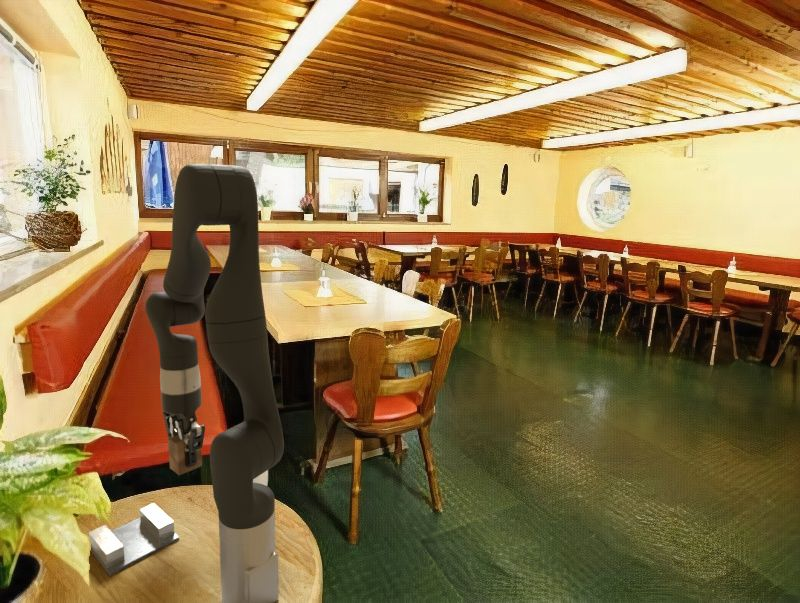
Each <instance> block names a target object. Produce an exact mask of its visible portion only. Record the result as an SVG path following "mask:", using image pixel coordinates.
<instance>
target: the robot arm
mask: <svg viewBox="0 0 800 603" xmlns="http://www.w3.org/2000/svg"><path fill="white" fill-rule="evenodd" d="M174 187H175V188H174V194H173V195H174V196H173V211H172V212H173V213H172V223H171V224H172V225H171V226H172V227H171V248H170V249H171V250H170V257H169V259H168V260H169V261H168V262H167V263H168V264H167V268H166V271H165V274H164V278H163V282H162V284H163V285H162V286H163V290H164V291H156V292H153V293H151V294H149V296H148V297H147V299H146V302H145V312H146V313H145V314H146V316H147V318H148V321H149V322H150V325H151V328H152V330H153V333H154V335H155V338H156V341H157V344H158V351H159V367H160V369H159V370H160V371H159V372H160V374H159V383H160V384H159V385H160V398H161V409H162V416H163V421H164V424H165V429H166V433H167V438H169V437H172V436H176V435H178V434H179V439H180V441H182V442H183V445H184V453H185V466H186V467H188V468H189V467H191V466H194V465H196V464H197V455H196V450H198V449H200V448H201V449H202V448H203V446H204V445H203V444H204V438H205V432H206V427H205V425H204V424H201V425H199V424H198V419H197V418H198V417H197V413H196V411H197V410H198V409H199V408H200V407H201V406H202V403H203V400H202V381H201V380H202V378H201V370H200V365H199V354H198V349H199V348H198V341H197V339H196V338H195V336H193V335H189V334H180V333H179V334H178V333H177V334H176V333H172V331H171V330H170V329H171V328H170V327H175V326H176V327H177V326H185V325H191V324H195V323H198V322H199V321H201V320H202V318H203V317H204V316H205V317H204V319H205V327H206V333H207V334H206V335H207V336H206V337H207V342H208V348H209V351H210V354H211V356H212V358H213V359H214V361H215V362H216V364H218V367H220V368H221V370H222V371H223V372H224V374H226V375H227V376H228V378H229V379H230V380H231V381H232V382H233V383H234V385H235V387H236V388H237V390H238V392H239V395H240V398H241V403H242V411H243V421H242V422H241V423H238V424H237V425H234V426H232V427H230V428H228V429H226V430H224V431H222V432H220V433H219V434H217V435H216V436H215V437H214V438H213V440H212V441H211V444H210V448H209V462H210V463H209V464H210V465H209V466H210V473H211V474H210V475H211V482H212V483H211V484H212V494H213V499H214V500H213V501H214V502H215V505H216V508H217V513H218V530H219V531H218V532H219V533H218V534H219V535H218V536H219V561H220V564H219V565H220V585H221V590H220V591H221V603H276V602H277V601H278V600H279V597H280V596H279V554H278V553H277V552H276V516H275V515H276V511H275V510H276V508H275V507H276V503H275V502H276V500H275V493H274V492H273V490H272V489H271V488H270V487H269V486H268V485H267V486H266V485H263V484H259V483H253V479H255V478H256V477H258V476H259V475H261V474H262V473H264V472H266V471H267V470H268V471H269V470H270V469H272V468H273V467H274V466H276V465H277V464H278V463H279V462H280V461H281V459H282V457H283V455H284V450H285V440H284V434H283V433H284V432H283V428H282V422H281V418H280V413H279V408H278V403H277V400H276V395H275V389H274V383H273V376H272V368H271V361H270V353H269V352H270V351H269V339H268V326H267V319H266V317H267V315H266V310H265V304H264V303H265V302H264V295H263V288H262V287H263V286H262V279H261V278H262V275H261V267H260V247H259V246H260V244H259V243H260V241H259V240H260V239H259V236H260V235H259V232H260V231H259V201H258V200H259V199H258V192H257V187H256V183H255V179H254V177H253V175H252V173H251V172H250V170H249V169H248V168H246V167H244V166H241V165H233V164H231V165H230V164H212V163H211V164H210V163H188V164H186V165H185V166H183V167H182V168H181V169H180V171H179V172H178V175H177V178H176V182H175V186H174ZM201 226H229V248H228V249H229V250H228V254H227V258H226V261H225V264H224V265H223V267H222V270H221V272H220V274H219V277H218V278H217V280H216V282H215V284H214V286H213V288H212V290H211V292H210V294H209V297H208V299H207V301H206V304H205V300H204V299H205V298H204V292H205V291H204V290H205V287H206V285H207V282H208V279H209V277H210V274H211V268H212V261H211V258H210V254H209V252H208V251H207V249H206V247H205V246H204V244H203V243H202V241H201V239H200V238H199V236H198V234H197V233H198V232H197V231H198V229H199V228H200V227H201ZM188 433H189V434H190V435H187V436H184V435H185V434H188ZM188 440H189V445H188ZM197 442H198V443H197Z"/></svg>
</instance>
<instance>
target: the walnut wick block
mask: <svg viewBox="0 0 800 603" xmlns="http://www.w3.org/2000/svg"><path fill="white" fill-rule="evenodd" d="M187 435H190V434H189V433H188V434H185V435H184V436H187ZM197 443H198V442H197ZM188 445H189V440H188ZM167 446H168V462H169V469H170V470H171V471H173V472H174V473H175V474H177V476H181V475H184V474H186V473H188V472H191V471H193V470H195V469H197V468H200V467H202V466H203V460H202V459H203V458H202V448H200V449H198V450H196V455H197V464H196V465H194V466H191V467H189V468H188V467H186V466H185V453H184V445H183V442H182V441H180V439H179V434H178V435H176V436H172V437H167Z"/></svg>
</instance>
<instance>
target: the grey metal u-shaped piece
mask: <svg viewBox="0 0 800 603" xmlns="http://www.w3.org/2000/svg"><path fill="white" fill-rule="evenodd" d="M174 524H175V523H174V520H173V519H172V518H171V517H170V516H168V515H167V513H165V512H164V510H162V509H161V508H160V507H159V505H157V504H156V503H155V502H152V503H150V504H148V505H147V506H144V507H142V508H139V517H138V518H136V519H134V520H131V521H129V522H126V523H125V524H122V525H121V526H118V527H116V528H114V529H109V527H108V526H107V525H106V524H104V525H102V526H99V527H97V528H95V529H93V530H91V531H89V532H88V539H89V538H90V541H91V550H90V552H91V553H92V554H93V556H94V557H95V559H96V560H97V561H98V563H99V564H100V565H101V566H102V568H103V569H104V571H105V572H106V573H107V574H108V576H109V577H111V576H113V575H114V574H116V573H118V572H120V571H122V570H124V569H126V568H127V567H129V566H132V565H133V564H135V563H137V562H139V561H141V560H143V559H145V558H147V557H149V556H151V555H152V554H154V553H157V552H158V551H160V550H162V549H165V547H168V546H170V545H171V544H173V543H175V542H177V541H179V540H180V538H179V536H178V535H177V533H176V532H175V525H174Z"/></svg>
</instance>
